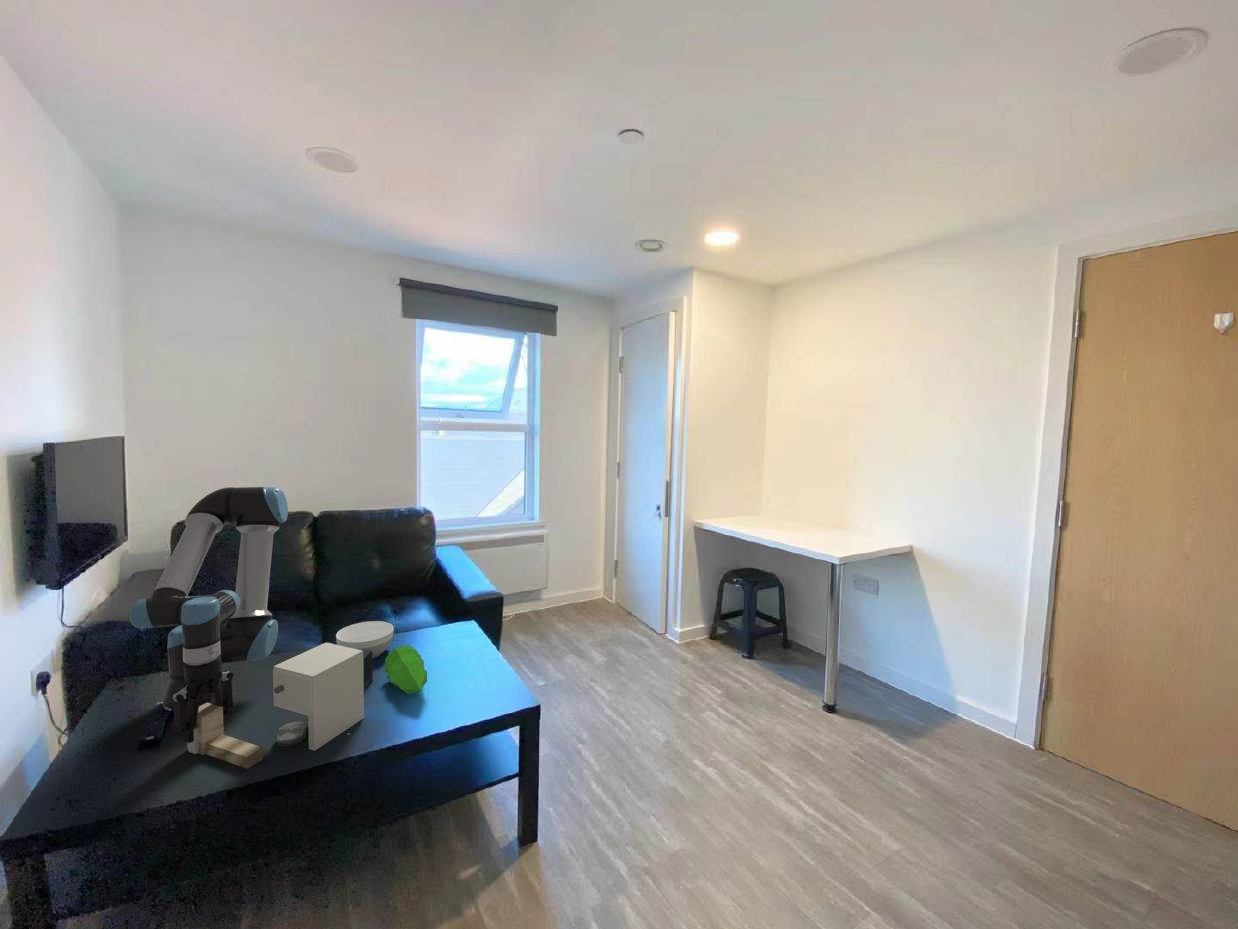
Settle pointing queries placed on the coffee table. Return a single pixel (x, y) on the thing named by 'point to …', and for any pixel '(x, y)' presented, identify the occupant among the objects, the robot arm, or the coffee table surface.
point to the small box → (367, 667)
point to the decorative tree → (406, 669)
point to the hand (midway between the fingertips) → (206, 745)
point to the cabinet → (322, 689)
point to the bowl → (366, 636)
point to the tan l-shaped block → (223, 739)
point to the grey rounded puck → (291, 733)
